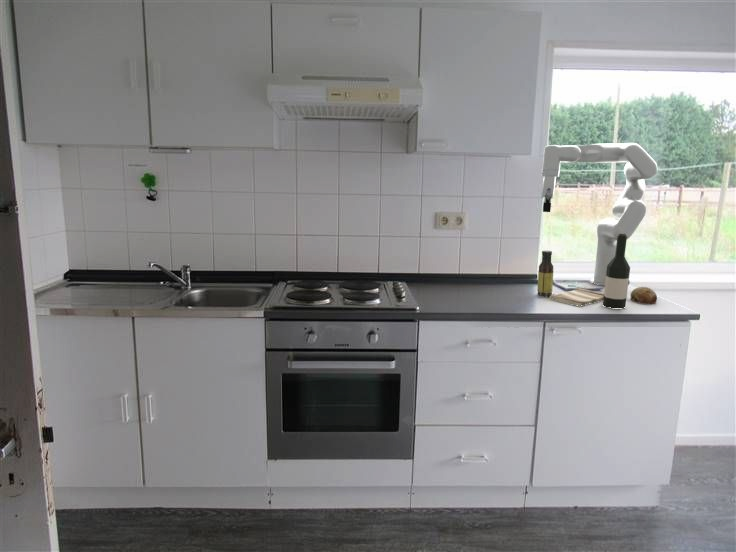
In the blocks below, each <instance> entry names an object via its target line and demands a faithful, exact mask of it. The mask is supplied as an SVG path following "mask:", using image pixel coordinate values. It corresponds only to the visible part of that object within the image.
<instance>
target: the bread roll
mask: <svg viewBox="0 0 736 552" xmlns="http://www.w3.org/2000/svg"><path fill="white" fill-rule="evenodd" d="M657 300H658V297H657V294H656V292H655V290H653V289H651V288H649V287H646V286H640V287H636V288H634V289H633V290H632V291H631V292H630V301H631V302H632V303H633V302H634V303H638V304H642V305H652V304H653V305H654V304H656V303H657Z"/></svg>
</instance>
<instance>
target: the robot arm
mask: <svg viewBox="0 0 736 552" xmlns="http://www.w3.org/2000/svg"><path fill="white" fill-rule="evenodd" d="M561 163H589V164H601V163H602V164H603V163H607V164H608V163H626V164H625V166H624V168H623V173H624V177H625V180H626V184H625V187H624V189H623V191H622V193H621V194H620V196H619V197H618V199H617V200H616V202H615V203H614V204H613V206H612V215H613V216H615V217H617V218H618V219H617V218H613V217H607V218H603V219H601V220H600V221H599V223H598V225H597V227H596V229H597V230H596V233H597V234H596V235H597V248H596V254H595V255H596V256H595V263H594V264H595V266H594V276H593V278H590V280H589V282H590V281H591V282H593V283H595V284H594V285H596V284H598V285H597V286H601V287H605V281H606V272H607V265H608V264H609V263H610V262H611V260H612V259H613V258H614V257H615V253H616V244H617V236H618V235H619V233H625V234H626V236H627V240H629V239H630V238H631V237H632V236H633V234H634V233H635V231H636V230H637V229H638V227H639V225H640V224H641V222H643V219H644V218H645V216H646V212H647V205H646V204H645V203H644V202H643V201H642V198H643V197H644V194H645V192H646V191H645V190H646V182H645V181H646V180H651V179H653V178H654V177H656V176H657V174H658V171H659V169H658V167H659V166H658V165H657V162H656V161H655V160H654V159H653V157H652V156H651V155H650V154H648V152H647V151H646V150H645V149H644V148H643V147H642V146H641V145H639V143H636V142H624V143H622V142H621V143H619V142H618V143H617V142H616V143H614V142H613V143H591V144H584V145H583V144H582V145H574V144H573V145H572V144H567V145H556V144H548V145H546V146H545V147H544V150H543V158H542V166H541V177H543V179H542V180H543V181H542V187H541V199H544V201H543V205H542V212H544V213H551V209H552V199H554V198H553V197H554V193H555V189H556V181H557V180H556V179H557V178H559V177H560V169H561ZM591 282H590V283H591Z"/></svg>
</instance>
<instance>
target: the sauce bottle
mask: <svg viewBox="0 0 736 552" xmlns="http://www.w3.org/2000/svg"><path fill="white" fill-rule="evenodd" d="M552 254H553V251H551V250H541V262H540V264H539V266H538V271H537V296H539V297H541V298H550V295H552V294H553V284H554V264H553V263H552Z"/></svg>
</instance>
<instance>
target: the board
mask: <svg viewBox="0 0 736 552" xmlns="http://www.w3.org/2000/svg"><path fill="white" fill-rule="evenodd" d="M603 298H604V292H599V291H596V290H595V291H594V290H589V289H585V288H580V287H579V288H576V289H573V290H570V291H565V292H561V293H557V294H555V293H554V294H553V293H552V295H550V297H549V300H552V301H555V302H559V303H562V302H563V304H566V303H568V305H570V304H573V305H572V306H574V305H578V306H581V305H584V306H586V305H585V304H588V305H590V304H589V303H592V304H594V302H596V303H599V302H603ZM598 301H599V302H598ZM578 306H577V307H578ZM581 307H582V306H581Z"/></svg>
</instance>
